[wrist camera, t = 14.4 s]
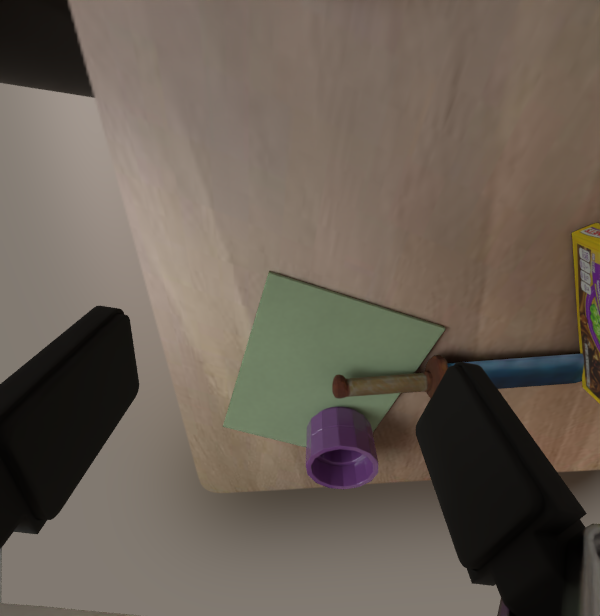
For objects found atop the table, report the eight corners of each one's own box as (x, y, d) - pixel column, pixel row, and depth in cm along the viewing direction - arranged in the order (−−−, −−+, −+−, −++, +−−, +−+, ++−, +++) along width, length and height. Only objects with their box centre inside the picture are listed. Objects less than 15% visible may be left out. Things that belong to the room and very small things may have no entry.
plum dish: (299, 436, 34) (296, 480, 30) (320, 396, 31) (321, 438, 27) (354, 450, 35) (360, 495, 31) (381, 412, 32) (391, 456, 27)
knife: (632, 359, 24) (598, 396, 28) (601, 333, 27) (573, 369, 30) (334, 381, 25) (334, 415, 28) (330, 354, 27) (330, 387, 30)
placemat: (223, 423, 34) (222, 426, 34) (269, 270, 25) (268, 272, 24) (353, 456, 36) (354, 459, 36) (444, 326, 27) (445, 328, 26)
